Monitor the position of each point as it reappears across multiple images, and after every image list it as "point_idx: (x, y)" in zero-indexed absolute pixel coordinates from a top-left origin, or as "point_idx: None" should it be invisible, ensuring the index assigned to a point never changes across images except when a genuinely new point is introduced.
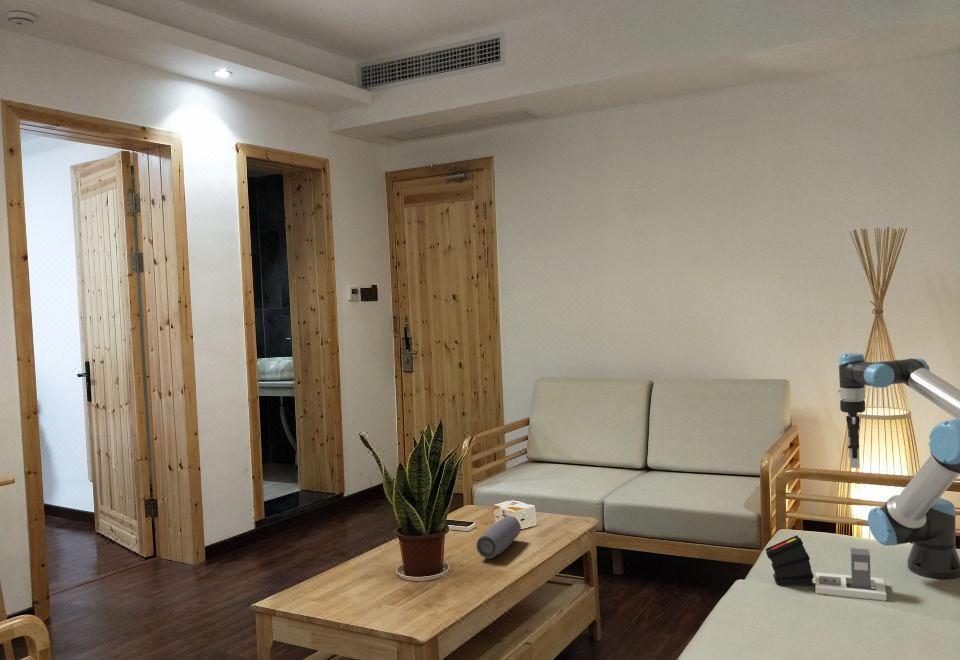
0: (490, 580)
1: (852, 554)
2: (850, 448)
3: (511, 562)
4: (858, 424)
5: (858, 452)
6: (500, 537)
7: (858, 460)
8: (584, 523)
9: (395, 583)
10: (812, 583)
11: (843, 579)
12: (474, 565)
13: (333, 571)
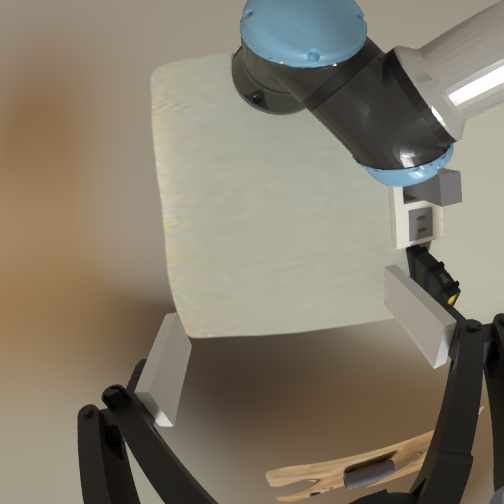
0: (421, 439)
1: (461, 199)
2: (445, 359)
3: (389, 452)
4: (457, 501)
5: (440, 309)
6: (386, 471)
7: (414, 286)
8: (282, 469)
9: (424, 455)
10: (418, 245)
11: (411, 206)
12: (396, 457)
13: (408, 473)
